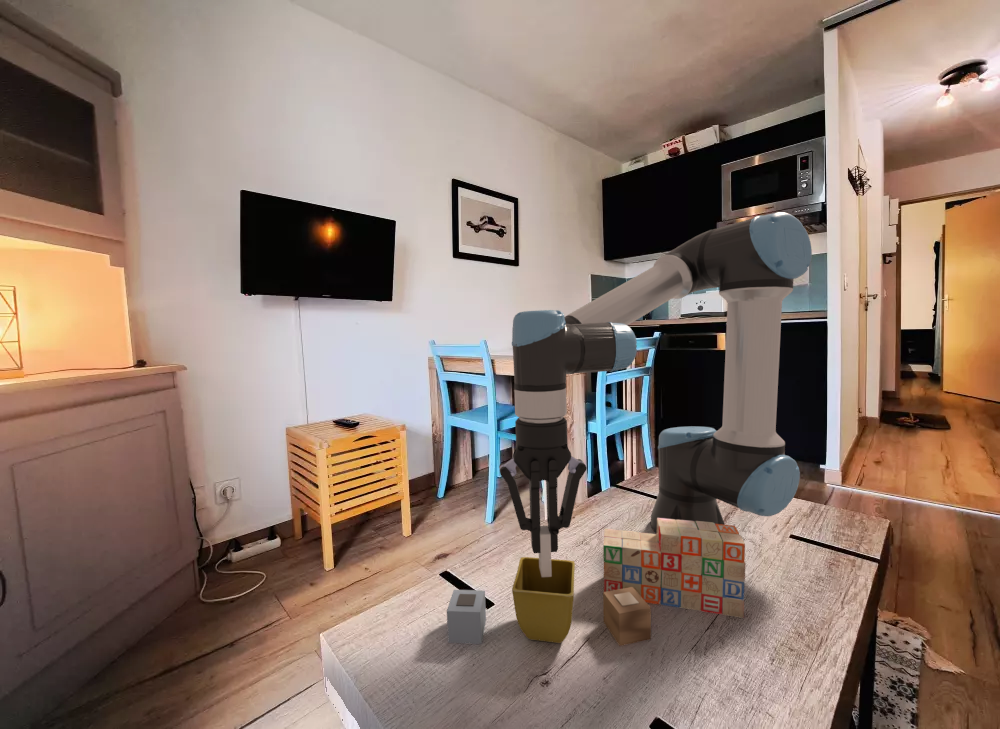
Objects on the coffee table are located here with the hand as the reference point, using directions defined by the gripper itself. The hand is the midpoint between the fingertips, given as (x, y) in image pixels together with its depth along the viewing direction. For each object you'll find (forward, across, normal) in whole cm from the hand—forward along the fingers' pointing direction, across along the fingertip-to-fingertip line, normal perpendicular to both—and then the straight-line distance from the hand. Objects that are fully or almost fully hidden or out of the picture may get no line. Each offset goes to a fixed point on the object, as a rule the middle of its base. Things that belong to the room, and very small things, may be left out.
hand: (545, 571), depth 61 cm
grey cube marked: (+10, +12, -1) cm, 15 cm away
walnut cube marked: (+10, -12, +1) cm, 15 cm away
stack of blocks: (+10, -22, -6) cm, 25 cm away
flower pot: (+10, 0, 0) cm, 10 cm away
